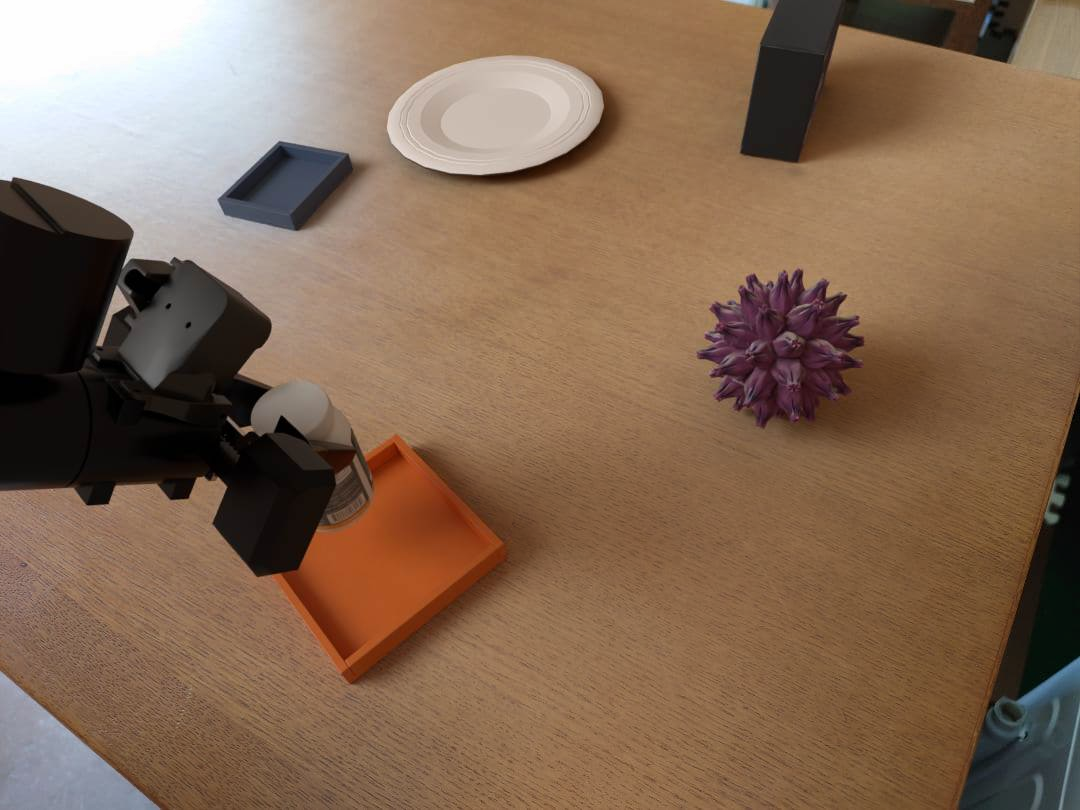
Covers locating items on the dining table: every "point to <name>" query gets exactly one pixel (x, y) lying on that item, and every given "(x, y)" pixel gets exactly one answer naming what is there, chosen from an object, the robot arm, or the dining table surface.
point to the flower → (781, 347)
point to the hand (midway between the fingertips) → (325, 430)
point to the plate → (495, 115)
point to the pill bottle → (323, 423)
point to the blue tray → (286, 185)
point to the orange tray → (390, 563)
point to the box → (790, 77)
